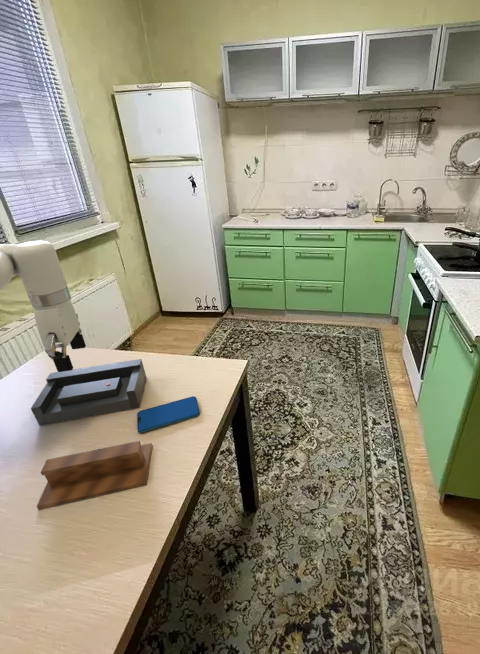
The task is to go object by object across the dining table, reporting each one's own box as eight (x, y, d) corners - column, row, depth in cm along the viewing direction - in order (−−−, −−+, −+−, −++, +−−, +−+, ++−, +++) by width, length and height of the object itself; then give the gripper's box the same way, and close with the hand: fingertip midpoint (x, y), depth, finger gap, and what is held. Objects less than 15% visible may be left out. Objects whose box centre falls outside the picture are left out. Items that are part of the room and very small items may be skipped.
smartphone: (200, 413, 83) (137, 431, 78) (200, 416, 84) (138, 434, 78) (195, 395, 89) (137, 411, 84) (196, 398, 90) (137, 414, 85)
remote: (60, 406, 83) (56, 398, 82) (67, 393, 88) (63, 385, 87) (118, 396, 86) (115, 388, 85) (122, 384, 91) (119, 376, 89)
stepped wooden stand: (38, 509, 63) (26, 490, 60) (57, 465, 72) (48, 446, 69) (146, 484, 67) (139, 465, 64) (152, 445, 76) (147, 427, 73)
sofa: (39, 426, 82) (28, 405, 79) (58, 392, 93) (50, 372, 90) (139, 407, 87) (133, 387, 84) (146, 377, 98) (141, 358, 95)
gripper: (47, 284, 80) (68, 342, 88) (11, 315, 65) (41, 383, 72) (80, 281, 82) (98, 338, 89) (53, 311, 67) (78, 377, 74)
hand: (72, 358), depth 81 cm, fingers open, 9 cm apart
